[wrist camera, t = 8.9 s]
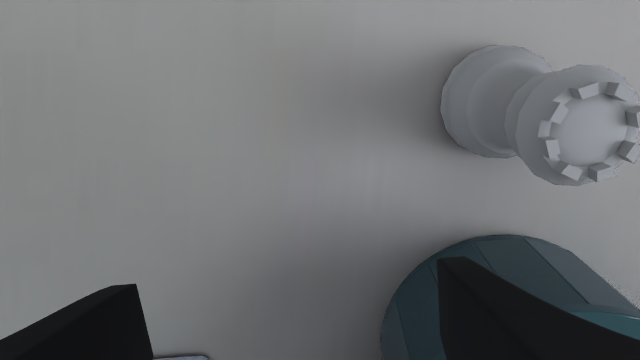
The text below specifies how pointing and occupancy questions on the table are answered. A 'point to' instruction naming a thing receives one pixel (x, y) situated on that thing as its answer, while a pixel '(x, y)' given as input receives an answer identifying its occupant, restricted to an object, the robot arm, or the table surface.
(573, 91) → the rook chess piece
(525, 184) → the table surface
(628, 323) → the pot lid
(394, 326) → the pot
